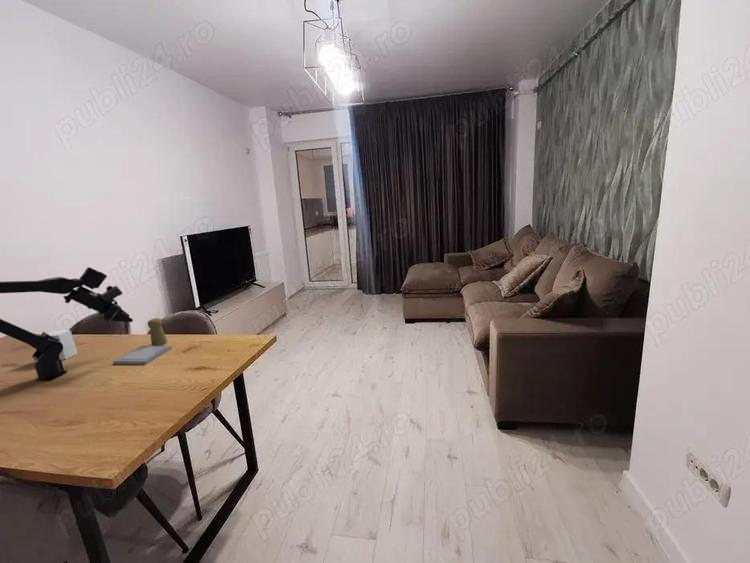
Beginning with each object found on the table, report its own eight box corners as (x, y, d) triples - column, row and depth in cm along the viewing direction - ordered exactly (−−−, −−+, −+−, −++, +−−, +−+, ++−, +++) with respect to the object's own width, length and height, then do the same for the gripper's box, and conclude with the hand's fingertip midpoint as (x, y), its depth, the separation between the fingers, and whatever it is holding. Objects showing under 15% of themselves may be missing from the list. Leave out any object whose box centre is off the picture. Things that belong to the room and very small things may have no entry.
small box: (78, 353, 151) (71, 330, 149) (65, 359, 146) (58, 335, 143) (60, 354, 152) (53, 330, 150) (47, 360, 147) (40, 335, 144)
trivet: (146, 364, 135) (145, 360, 135) (113, 364, 138) (112, 360, 138) (172, 348, 149) (171, 345, 149) (142, 348, 151) (141, 345, 151)
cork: (152, 343, 157) (146, 318, 154) (168, 339, 159) (162, 315, 157) (150, 347, 152) (144, 322, 149) (167, 344, 154) (161, 319, 151)
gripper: (106, 284, 133) (147, 305, 143) (102, 278, 147) (139, 298, 157) (85, 310, 130) (128, 330, 140) (82, 301, 144) (122, 320, 154)
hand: (130, 318), depth 147 cm, fingers open, 9 cm apart
